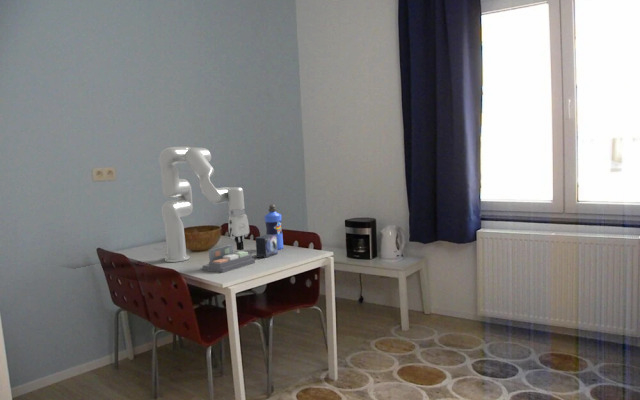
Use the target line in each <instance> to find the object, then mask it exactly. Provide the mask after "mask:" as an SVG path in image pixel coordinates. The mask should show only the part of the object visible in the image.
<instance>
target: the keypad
mask: <svg viewBox="0 0 640 400" xmlns="http://www.w3.org/2000/svg"><path fill="white" fill-rule="evenodd" d="M233 246H234V245H233V244H227V245H224V246H219V247H216V248H211V249H208V256H209V257H208V258H209V259H208V260H209V262H208V264H204V265H203V264H202V271H208V272H217V273H223V274H224V273H227V272H230V271H233V270H237V269H239V268H242V267H245V266H248V265H252V264H255V263H256V261H255V258H253V254H250V253H248V255H247V256H243V257H238V258H236V259H233V260H228V261H226V262H222V263H215V262H213V261H215V260H218V259H223V256H225V255H229V254H233V253H234V248H233Z"/></svg>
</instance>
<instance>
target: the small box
mask: <svg viewBox="0 0 640 400" xmlns="http://www.w3.org/2000/svg"><path fill="white" fill-rule="evenodd" d="M255 247H256V249H255V250H256V258H263V259H267V258H270V257H272V256H276V255H278V251H279V250H277V235H270V234H267V235H266V234H264V235H260V236H257V237H255Z"/></svg>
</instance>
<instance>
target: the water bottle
mask: <svg viewBox="0 0 640 400" xmlns="http://www.w3.org/2000/svg"><path fill="white" fill-rule="evenodd" d="M282 218H283V217H282V214H281V213H279V212H277V208H276V205H275V204H274V203H270V204H269V206H268V213H267V214H265V215H264V223H265V227H266V232H265V233H266V234H265V235H267V234H270V235H277V251H281V249H282V250H283V249H284V238H283V237H284V235H283V230H282Z"/></svg>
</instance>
